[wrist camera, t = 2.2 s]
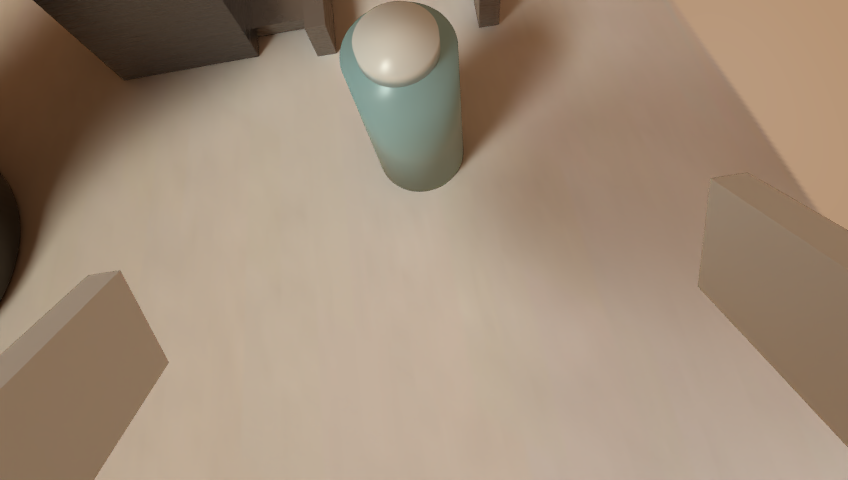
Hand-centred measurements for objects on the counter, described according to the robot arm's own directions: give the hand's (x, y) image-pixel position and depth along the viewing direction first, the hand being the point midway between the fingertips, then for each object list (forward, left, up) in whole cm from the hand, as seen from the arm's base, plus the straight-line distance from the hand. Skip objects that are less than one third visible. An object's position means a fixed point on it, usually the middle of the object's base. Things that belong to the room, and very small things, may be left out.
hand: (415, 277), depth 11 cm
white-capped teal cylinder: (-5, +10, -15) cm, 18 cm away
